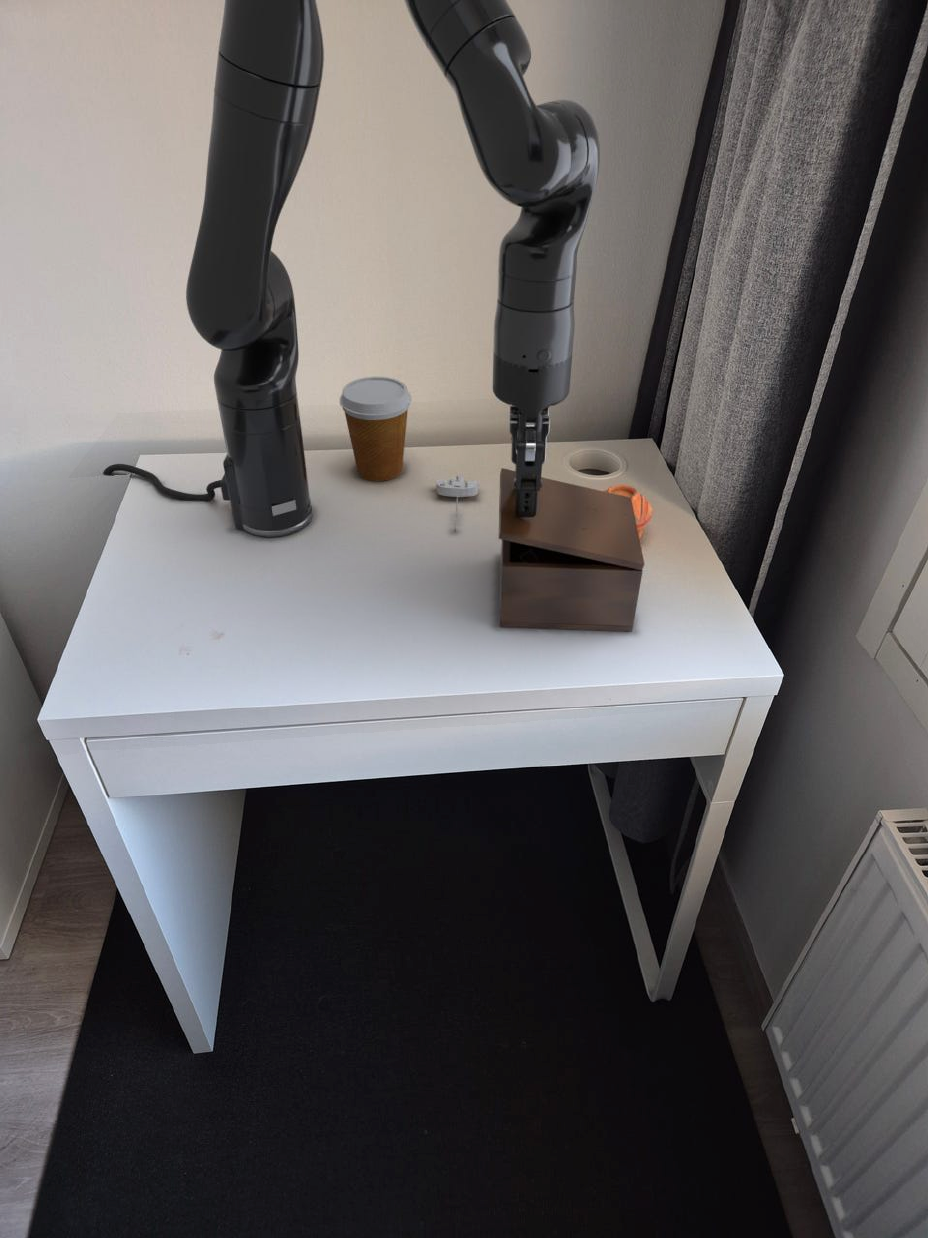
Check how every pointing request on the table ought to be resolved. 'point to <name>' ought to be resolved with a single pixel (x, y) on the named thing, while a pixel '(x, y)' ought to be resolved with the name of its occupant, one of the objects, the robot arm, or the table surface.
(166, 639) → the table surface
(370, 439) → the disposable coffee cup
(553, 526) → the lid
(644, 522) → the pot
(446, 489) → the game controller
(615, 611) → the chest
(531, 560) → the wooden post with brackets
